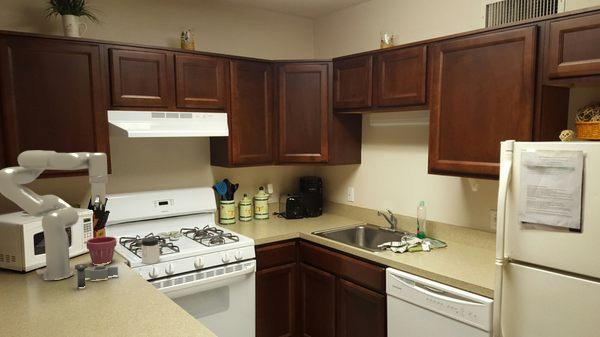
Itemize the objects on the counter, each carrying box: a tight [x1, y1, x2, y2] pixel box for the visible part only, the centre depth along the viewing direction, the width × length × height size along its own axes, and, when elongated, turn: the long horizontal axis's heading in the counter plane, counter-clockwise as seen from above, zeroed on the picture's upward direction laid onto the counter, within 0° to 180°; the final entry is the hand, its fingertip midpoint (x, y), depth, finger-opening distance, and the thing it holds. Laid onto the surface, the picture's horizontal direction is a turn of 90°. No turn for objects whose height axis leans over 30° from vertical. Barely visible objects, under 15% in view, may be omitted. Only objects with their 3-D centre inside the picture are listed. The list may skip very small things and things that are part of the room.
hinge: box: [85, 264, 119, 281], centre depth 193 cm, size 15×7×5 cm, turn 105°
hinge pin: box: [74, 263, 88, 288], centre depth 181 cm, size 5×5×10 cm
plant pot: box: [85, 236, 118, 264], centre depth 216 cm, size 14×14×13 cm
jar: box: [140, 237, 161, 265], centre depth 220 cm, size 9×8×12 cm
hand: (100, 216), depth 192 cm, fingers open, 9 cm apart
